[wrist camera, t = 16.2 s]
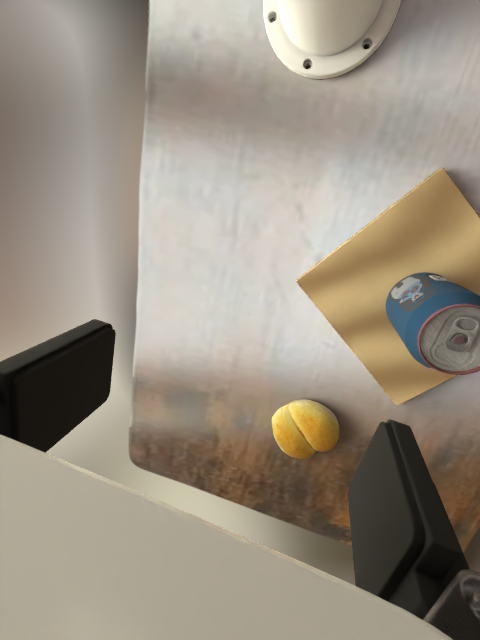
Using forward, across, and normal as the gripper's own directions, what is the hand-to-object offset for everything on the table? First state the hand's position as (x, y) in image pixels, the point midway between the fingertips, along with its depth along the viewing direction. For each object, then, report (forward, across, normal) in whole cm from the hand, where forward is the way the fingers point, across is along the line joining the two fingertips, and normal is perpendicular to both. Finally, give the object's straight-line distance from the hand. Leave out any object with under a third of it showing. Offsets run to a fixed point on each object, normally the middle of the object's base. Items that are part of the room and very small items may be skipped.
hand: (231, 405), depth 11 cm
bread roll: (+31, -7, +21) cm, 38 cm away
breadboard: (+30, -14, 0) cm, 33 cm away
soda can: (+29, -14, 0) cm, 32 cm away
